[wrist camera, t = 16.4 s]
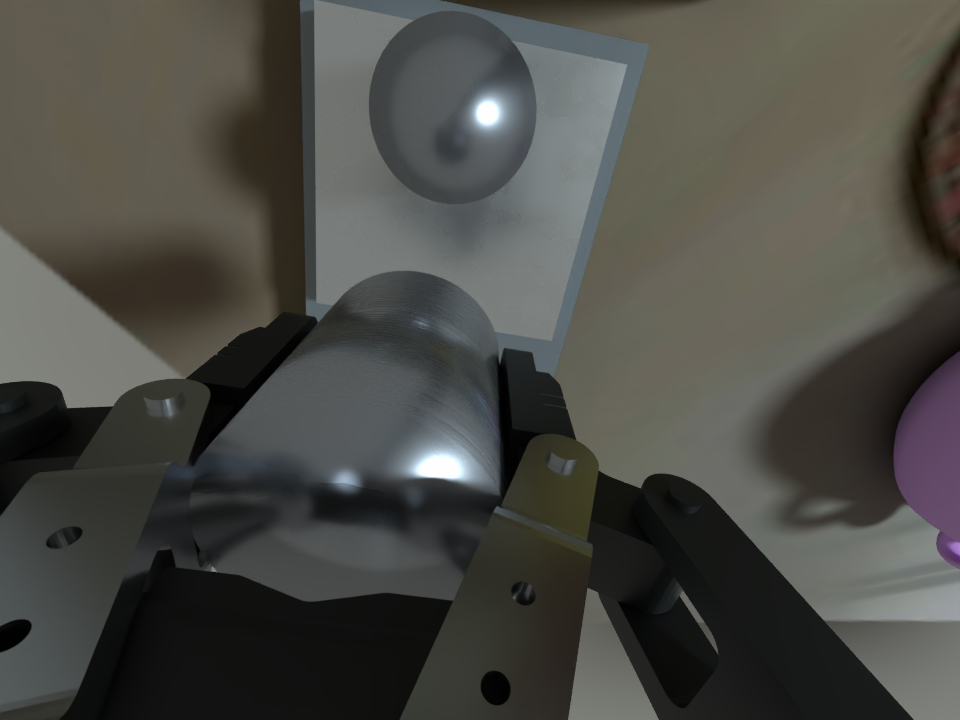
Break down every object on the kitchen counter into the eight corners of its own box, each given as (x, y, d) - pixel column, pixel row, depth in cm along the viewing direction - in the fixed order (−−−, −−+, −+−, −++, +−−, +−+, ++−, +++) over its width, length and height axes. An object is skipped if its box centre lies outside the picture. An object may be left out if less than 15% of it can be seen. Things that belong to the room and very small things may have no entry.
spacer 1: (515, 288, 11) (543, 435, 6) (482, 437, 13) (480, 645, 8) (323, 255, 11) (159, 378, 5) (322, 414, 13) (206, 614, 7)
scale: (628, 56, 20) (655, 41, 17) (532, 408, 29) (538, 442, 26) (325, -7, 19) (292, -36, 16) (324, 377, 28) (304, 407, 25)
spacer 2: (533, 63, 17) (555, 31, 11) (508, 193, 19) (517, 216, 14) (410, 38, 16) (373, -8, 11) (399, 173, 19) (365, 189, 13)
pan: (620, 67, 18) (627, 64, 17) (549, 333, 23) (551, 340, 22) (323, 6, 17) (314, -1, 16) (323, 296, 22) (316, 302, 21)
